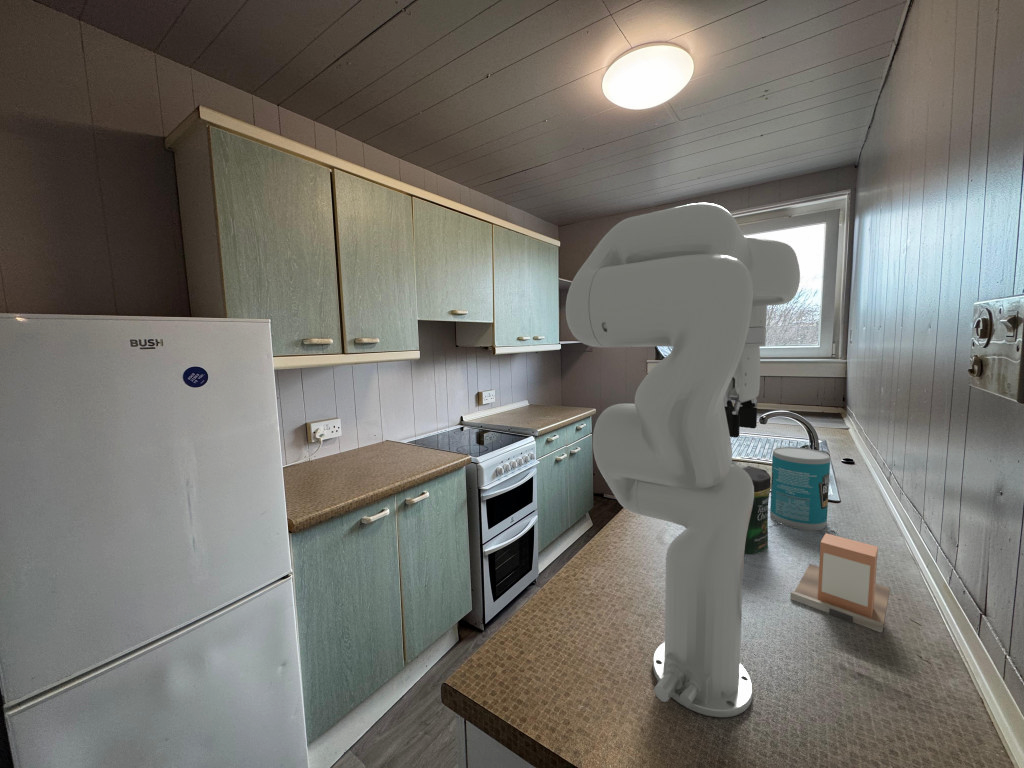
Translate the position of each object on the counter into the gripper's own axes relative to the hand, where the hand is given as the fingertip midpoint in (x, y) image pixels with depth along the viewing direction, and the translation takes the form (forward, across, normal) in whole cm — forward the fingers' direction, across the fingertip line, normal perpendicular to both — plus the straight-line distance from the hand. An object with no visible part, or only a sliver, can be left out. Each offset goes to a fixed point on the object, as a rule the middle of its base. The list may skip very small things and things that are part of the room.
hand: (738, 431), depth 74 cm
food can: (+31, -42, +2) cm, 52 cm away
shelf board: (+30, -9, +15) cm, 35 cm away
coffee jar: (+31, -17, -3) cm, 35 cm away
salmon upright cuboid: (+29, -5, +16) cm, 34 cm away
